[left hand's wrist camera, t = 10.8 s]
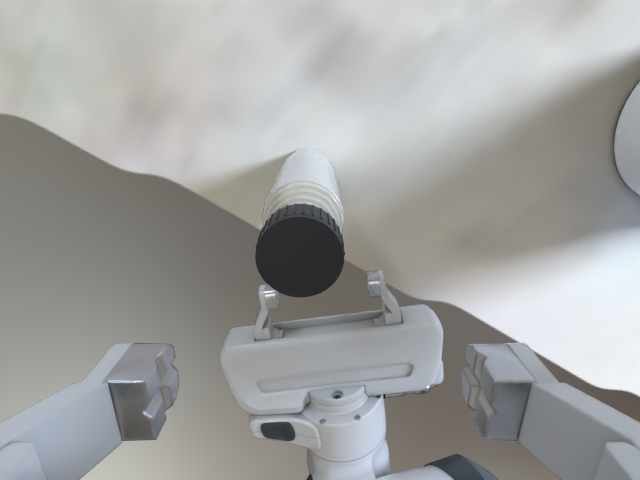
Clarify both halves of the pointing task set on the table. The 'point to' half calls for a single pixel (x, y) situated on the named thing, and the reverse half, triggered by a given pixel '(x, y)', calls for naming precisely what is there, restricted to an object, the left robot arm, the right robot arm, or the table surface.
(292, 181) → the bottle
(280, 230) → the cap
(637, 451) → the left robot arm
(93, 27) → the table surface
